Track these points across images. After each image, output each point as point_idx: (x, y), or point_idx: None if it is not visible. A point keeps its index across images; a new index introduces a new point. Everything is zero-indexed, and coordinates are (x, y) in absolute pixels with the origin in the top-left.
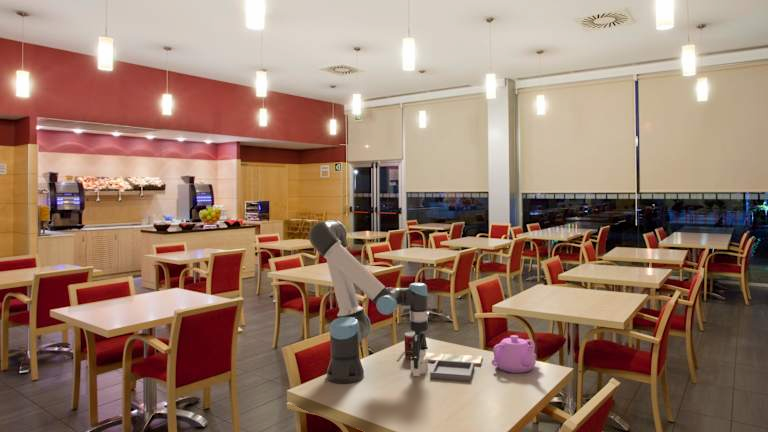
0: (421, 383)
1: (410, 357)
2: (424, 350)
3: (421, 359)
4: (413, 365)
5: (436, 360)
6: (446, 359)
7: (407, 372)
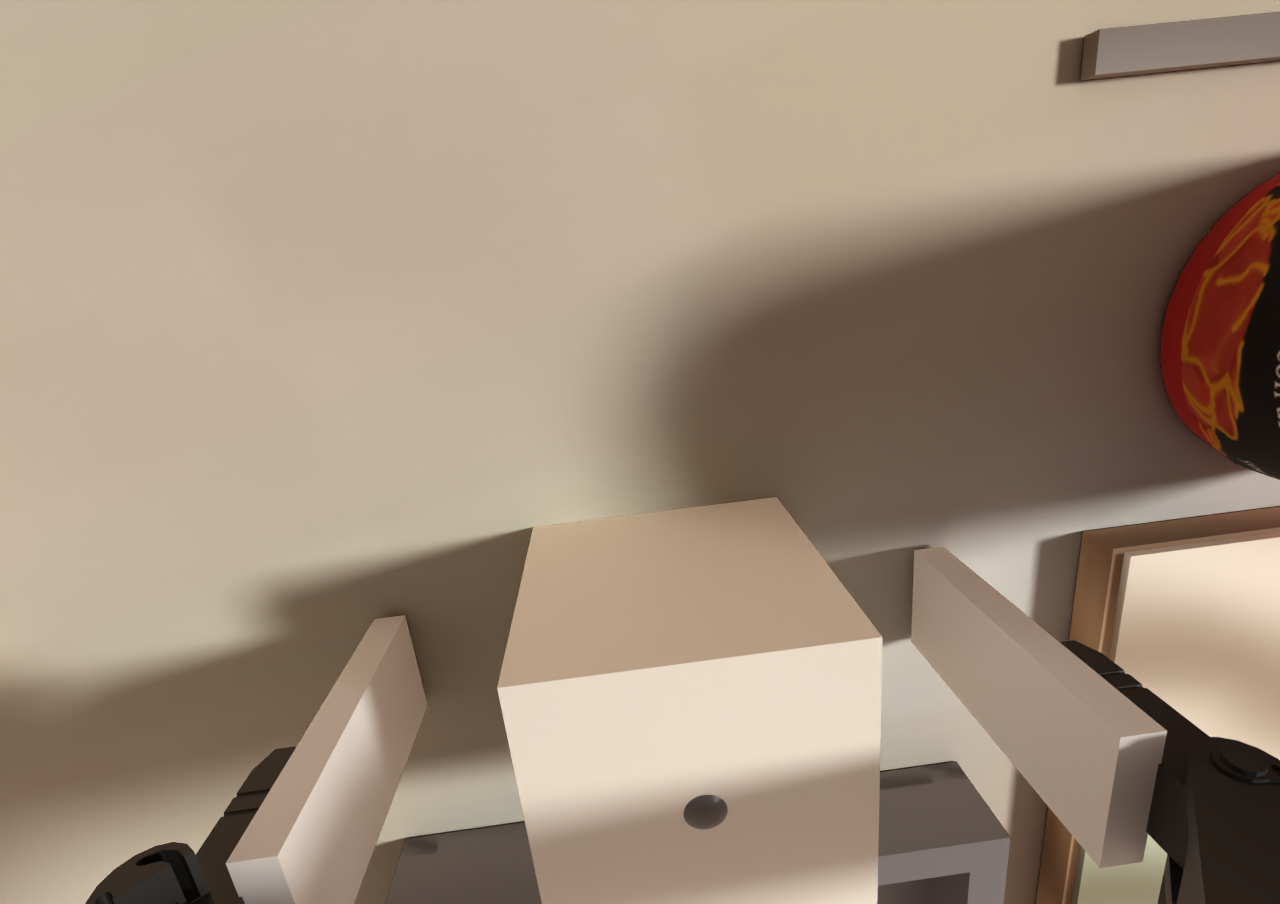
0: (162, 801)
1: (1202, 320)
2: (1102, 846)
3: (541, 901)
4: (295, 761)
5: (967, 847)
6: (1138, 865)
7: (514, 472)
